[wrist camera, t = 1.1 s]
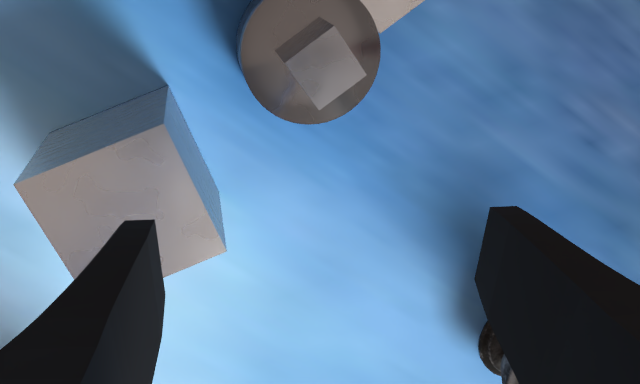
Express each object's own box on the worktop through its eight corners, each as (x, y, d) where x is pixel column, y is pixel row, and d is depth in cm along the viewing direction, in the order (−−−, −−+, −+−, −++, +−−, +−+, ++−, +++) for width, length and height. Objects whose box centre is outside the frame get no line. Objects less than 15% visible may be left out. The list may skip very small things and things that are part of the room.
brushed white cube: (109, 236, 26) (92, 307, 21) (49, 133, 24) (13, 184, 19) (218, 192, 26) (226, 251, 21) (168, 85, 24) (163, 123, 19)
